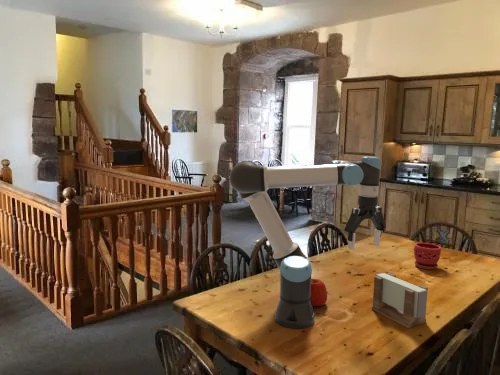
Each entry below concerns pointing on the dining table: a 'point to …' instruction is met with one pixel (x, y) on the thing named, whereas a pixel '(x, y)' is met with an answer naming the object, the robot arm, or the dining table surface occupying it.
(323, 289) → the apple
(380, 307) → the u-shaped post stand
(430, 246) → the plant pot
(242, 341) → the dining table surface
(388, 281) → the cream rectangular block
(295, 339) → the dining table surface
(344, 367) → the dining table surface
